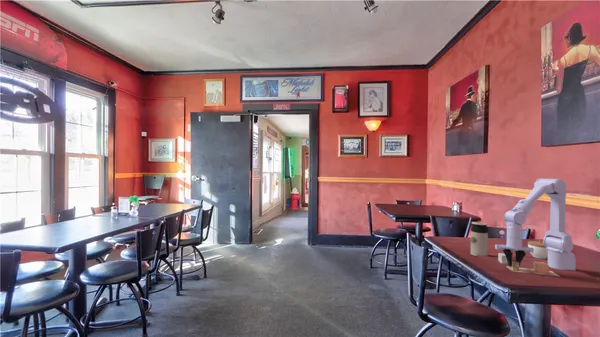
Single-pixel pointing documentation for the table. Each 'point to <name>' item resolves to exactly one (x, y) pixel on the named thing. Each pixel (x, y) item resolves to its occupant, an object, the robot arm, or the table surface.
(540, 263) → the terracotta cube
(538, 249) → the lidded jar
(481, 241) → the travel mug
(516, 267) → the birch strip
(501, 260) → the white block
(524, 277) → the table surface
